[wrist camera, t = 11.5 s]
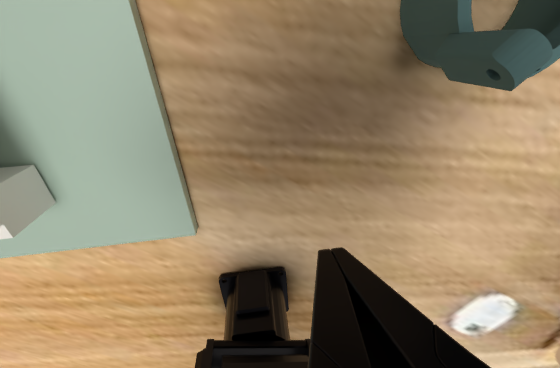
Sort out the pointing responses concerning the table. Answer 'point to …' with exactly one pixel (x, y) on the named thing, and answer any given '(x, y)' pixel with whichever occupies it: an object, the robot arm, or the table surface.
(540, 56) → the bracket
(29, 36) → the board
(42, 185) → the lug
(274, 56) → the table surface
